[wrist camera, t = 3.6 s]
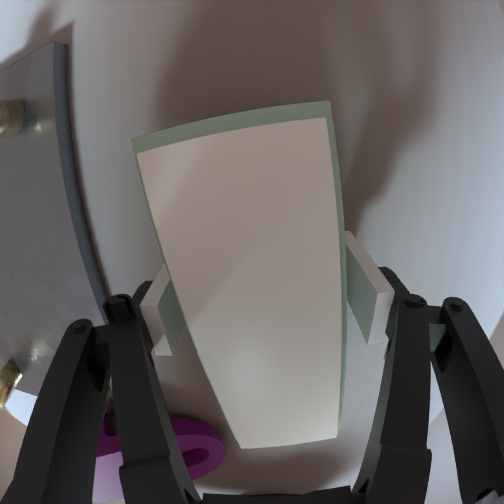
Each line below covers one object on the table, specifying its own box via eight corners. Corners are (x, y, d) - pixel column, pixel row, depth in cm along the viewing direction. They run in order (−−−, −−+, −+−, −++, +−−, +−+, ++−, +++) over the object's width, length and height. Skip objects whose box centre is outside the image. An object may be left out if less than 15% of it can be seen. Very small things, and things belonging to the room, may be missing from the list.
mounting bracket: (184, 365, 29) (48, 409, 24) (209, 421, 22) (44, 466, 16) (209, 414, 33) (89, 452, 27) (234, 463, 26) (96, 503, 20)
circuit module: (321, 348, 20) (343, 439, 13) (241, 359, 21) (236, 452, 14) (296, 111, 14) (337, 98, 7) (184, 131, 15) (120, 140, 7)
